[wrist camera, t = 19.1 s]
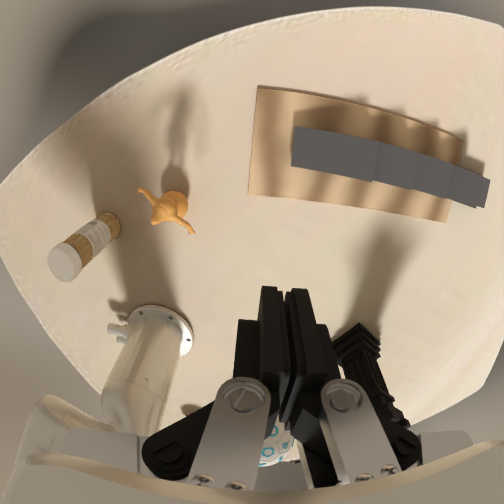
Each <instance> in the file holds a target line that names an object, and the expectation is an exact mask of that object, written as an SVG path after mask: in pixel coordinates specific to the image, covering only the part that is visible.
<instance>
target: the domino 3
mask: <svg viewBox="0 0 504 504" xmlns="http://www.w3.org/2000/svg"><path fill="white" fill-rule="evenodd" d="M452 166H453V164H451V163H448V162H445V161H442V160H439V159H436V158H433V157H430V156H427V155H424V154H421V153H418V158H417V164H416V170H415V175H414V180H413V185H412V189H414V190H417V191H421V192H424V193H428V194H431V195H434V196H437V197H441V198H444V199H446V196H447V191H448V187H449V182H450V177H451V172H452Z"/></svg>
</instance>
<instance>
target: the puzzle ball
mask: <svg viewBox="0 0 504 504" xmlns="http://www.w3.org/2000/svg"><path fill="white" fill-rule="evenodd" d="M293 442H294V437H293V436H291V435H290V431H285V426H284V423H279V414H278V417H277V419H276V422H275V425H274V428H273V431H272V433H271V435H270V436H269V437H268V438H266V439H265V440H264V442H263V447H262V453H261V458H260V463H259V466H269V465H273V464H275V463H277V462H279V461H281V460H282V459H283V458H284V457H285V456H287V455H288V453H289V452H290V450H291V447H293Z"/></svg>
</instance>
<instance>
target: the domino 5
mask: <svg viewBox="0 0 504 504" xmlns="http://www.w3.org/2000/svg"><path fill="white" fill-rule="evenodd" d="M489 184H490V180H489V179H487V178H484V177H483V178H482V184H481V188H480V193H479V197H478V202H477V206H479V207H482V208H484V206H485V202H486V198H487V193H488V189H489Z"/></svg>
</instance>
